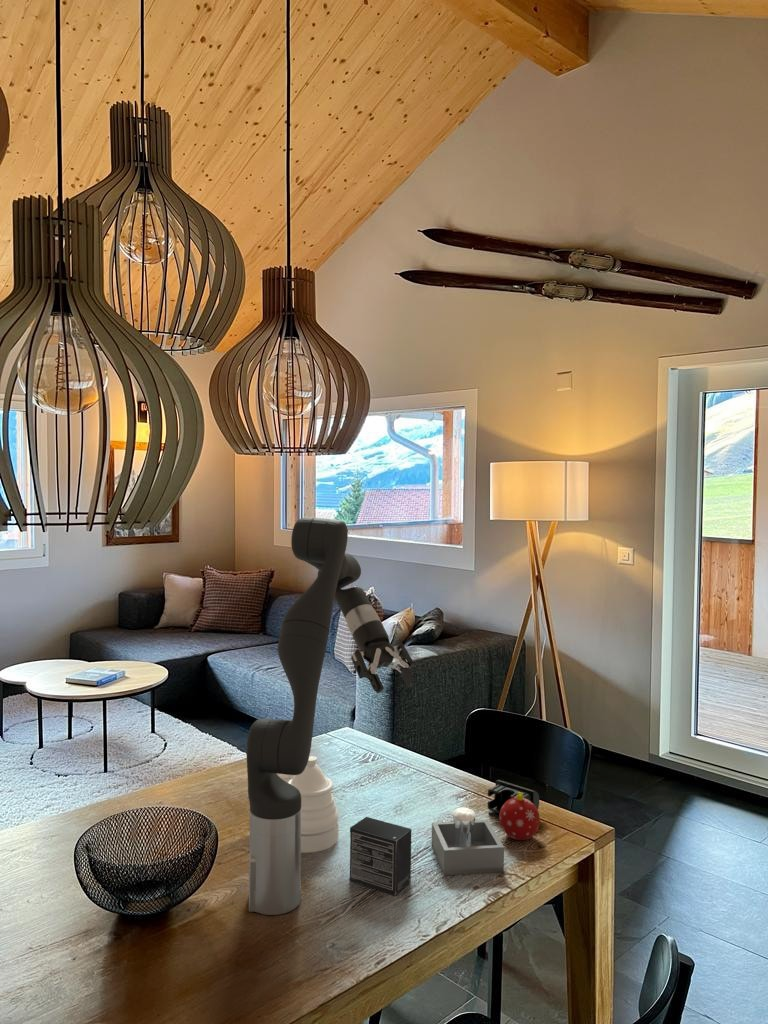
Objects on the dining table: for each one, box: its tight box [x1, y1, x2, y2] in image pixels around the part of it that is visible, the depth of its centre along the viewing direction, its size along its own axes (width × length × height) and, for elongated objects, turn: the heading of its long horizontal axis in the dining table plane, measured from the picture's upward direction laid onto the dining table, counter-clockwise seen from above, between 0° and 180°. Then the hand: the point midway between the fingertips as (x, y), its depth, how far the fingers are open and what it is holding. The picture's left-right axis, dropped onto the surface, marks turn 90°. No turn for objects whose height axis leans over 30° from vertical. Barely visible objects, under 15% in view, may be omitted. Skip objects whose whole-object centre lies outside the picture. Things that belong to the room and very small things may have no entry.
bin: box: [431, 819, 505, 876], centre depth 156 cm, size 12×12×5 cm
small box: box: [348, 816, 412, 896], centre depth 147 cm, size 11×6×10 cm, turn 59°
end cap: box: [487, 779, 540, 819], centre depth 176 cm, size 10×7×7 cm
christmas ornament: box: [498, 792, 541, 841], centre depth 165 cm, size 9×9×10 cm
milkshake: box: [452, 806, 481, 847], centre depth 156 cm, size 4×5×10 cm
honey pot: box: [287, 755, 340, 854], centre depth 163 cm, size 13×13×18 cm
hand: (396, 688), depth 171 cm, fingers open, 8 cm apart
